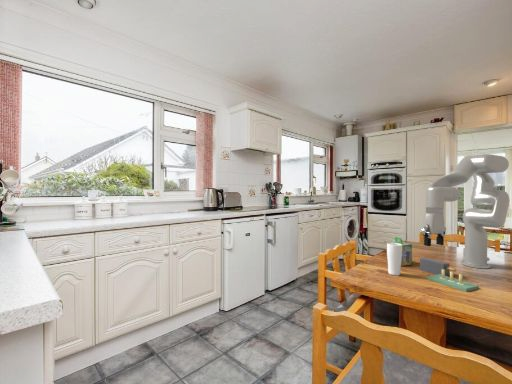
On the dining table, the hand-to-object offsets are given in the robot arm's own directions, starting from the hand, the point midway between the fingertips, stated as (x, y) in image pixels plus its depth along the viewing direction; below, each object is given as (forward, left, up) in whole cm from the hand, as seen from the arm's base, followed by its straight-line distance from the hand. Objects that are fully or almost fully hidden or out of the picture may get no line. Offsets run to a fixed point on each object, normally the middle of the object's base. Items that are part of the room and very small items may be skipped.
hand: (433, 245), depth 131 cm
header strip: (+8, +13, -14) cm, 21 cm away
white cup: (+20, -6, -14) cm, 26 cm away
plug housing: (-1, +2, -14) cm, 14 cm away
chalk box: (+1, -18, -14) cm, 23 cm away
